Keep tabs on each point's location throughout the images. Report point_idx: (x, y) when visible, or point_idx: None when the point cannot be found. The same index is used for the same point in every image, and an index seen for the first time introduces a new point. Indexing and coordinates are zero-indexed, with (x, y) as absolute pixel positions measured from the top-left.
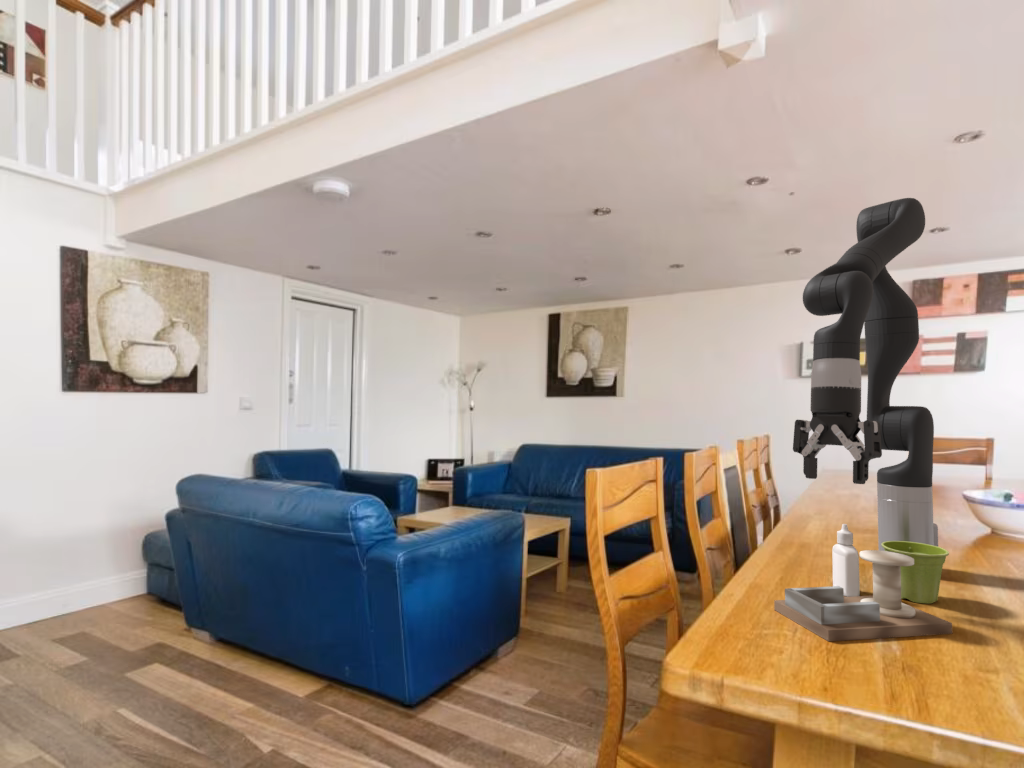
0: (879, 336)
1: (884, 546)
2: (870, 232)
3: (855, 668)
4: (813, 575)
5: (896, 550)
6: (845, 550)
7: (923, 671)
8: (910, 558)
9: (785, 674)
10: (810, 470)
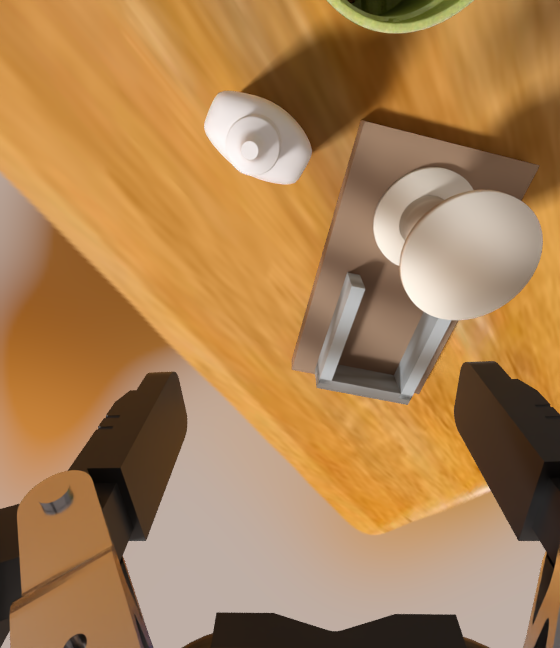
0: None
1: (341, 11)
2: None
3: None
4: (116, 70)
5: (399, 32)
6: (285, 178)
7: (536, 355)
8: (528, 222)
9: (437, 477)
10: (171, 448)
